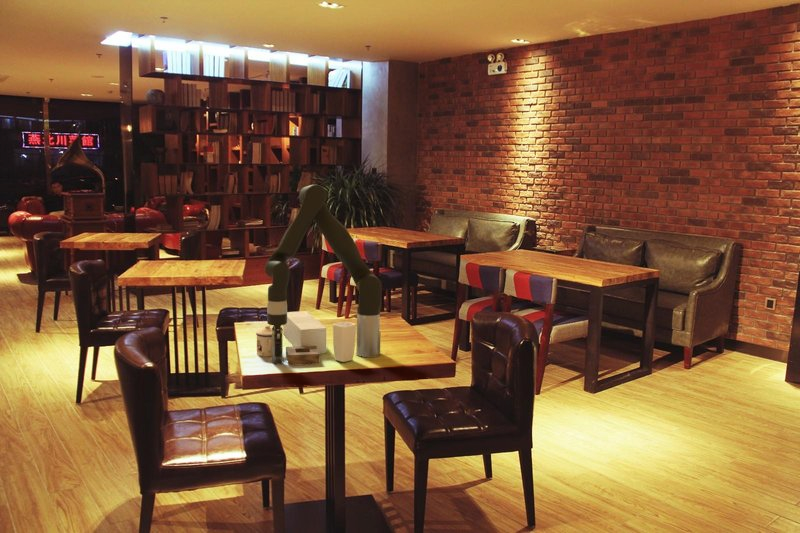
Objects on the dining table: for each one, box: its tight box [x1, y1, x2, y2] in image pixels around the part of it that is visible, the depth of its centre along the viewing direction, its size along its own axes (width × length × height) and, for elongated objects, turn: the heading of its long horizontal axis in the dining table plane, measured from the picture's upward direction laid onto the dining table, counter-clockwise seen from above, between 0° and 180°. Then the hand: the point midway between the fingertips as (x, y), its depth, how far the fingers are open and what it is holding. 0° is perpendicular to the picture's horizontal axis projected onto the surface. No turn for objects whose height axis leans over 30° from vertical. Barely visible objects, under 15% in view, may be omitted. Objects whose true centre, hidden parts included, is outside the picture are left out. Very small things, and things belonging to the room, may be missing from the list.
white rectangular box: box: [282, 310, 327, 354], centre depth 299 cm, size 32×11×11 cm, turn 22°
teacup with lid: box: [255, 324, 273, 357], centre depth 281 cm, size 12×9×12 cm
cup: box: [332, 321, 357, 363], centre depth 276 cm, size 7×7×15 cm
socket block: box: [285, 346, 321, 366], centre depth 276 cm, size 12×12×4 cm
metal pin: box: [271, 333, 284, 365], centre depth 271 cm, size 4×4×12 cm
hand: (277, 354), depth 271 cm, fingers closed on metal pin, 4 cm apart
